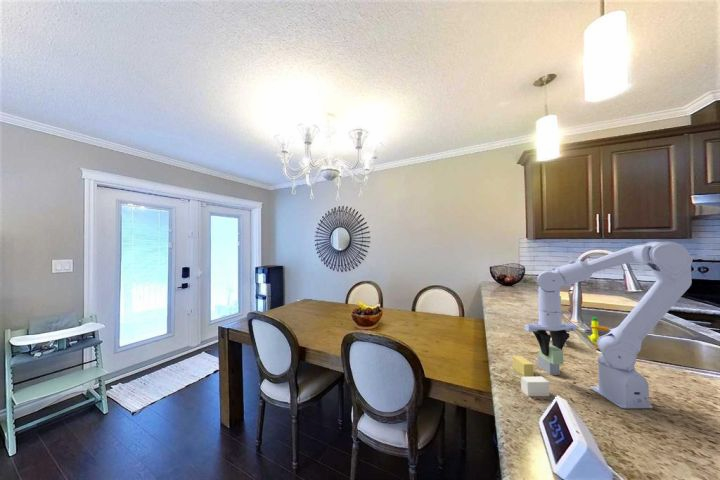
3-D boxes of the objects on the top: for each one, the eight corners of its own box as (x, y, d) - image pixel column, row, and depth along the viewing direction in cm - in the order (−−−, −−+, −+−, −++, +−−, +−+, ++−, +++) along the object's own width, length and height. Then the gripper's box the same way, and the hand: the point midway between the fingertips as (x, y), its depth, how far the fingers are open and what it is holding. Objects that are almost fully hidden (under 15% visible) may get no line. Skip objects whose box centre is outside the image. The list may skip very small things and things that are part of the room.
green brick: (563, 364, 76) (563, 350, 76) (553, 364, 76) (552, 350, 76) (548, 355, 82) (548, 342, 82) (539, 355, 82) (539, 343, 82)
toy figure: (610, 349, 102) (609, 318, 102) (609, 351, 99) (608, 320, 99) (587, 344, 106) (586, 315, 107) (586, 347, 104) (585, 317, 104)
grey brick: (559, 374, 83) (559, 362, 83) (550, 375, 83) (549, 362, 83) (546, 366, 89) (546, 354, 89) (537, 366, 89) (537, 354, 89)
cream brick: (542, 390, 75) (541, 376, 75) (549, 396, 72) (549, 381, 72) (521, 390, 75) (520, 376, 75) (527, 396, 72) (527, 382, 72)
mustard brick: (533, 376, 82) (533, 364, 82) (524, 376, 82) (523, 364, 82) (521, 367, 88) (521, 355, 88) (513, 367, 88) (512, 356, 88)
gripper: (563, 306, 83) (564, 348, 83) (518, 307, 84) (519, 349, 83) (581, 312, 76) (583, 358, 76) (532, 313, 76) (533, 359, 76)
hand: (551, 354), depth 79 cm, fingers closed on green brick, 3 cm apart
